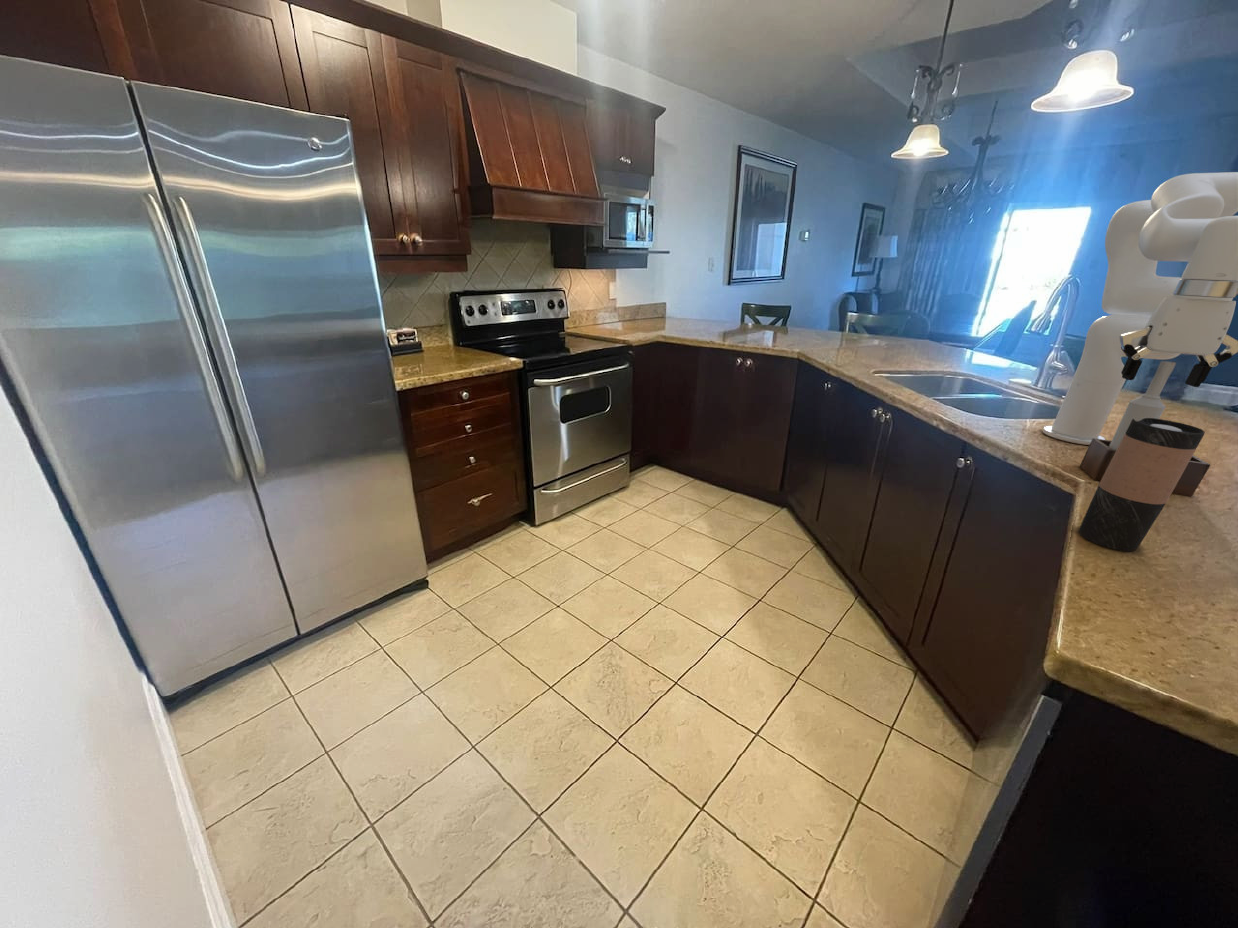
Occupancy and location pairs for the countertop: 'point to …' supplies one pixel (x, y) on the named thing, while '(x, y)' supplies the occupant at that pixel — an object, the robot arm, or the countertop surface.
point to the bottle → (1145, 403)
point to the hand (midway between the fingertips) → (1158, 382)
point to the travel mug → (1139, 482)
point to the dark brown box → (1103, 454)
